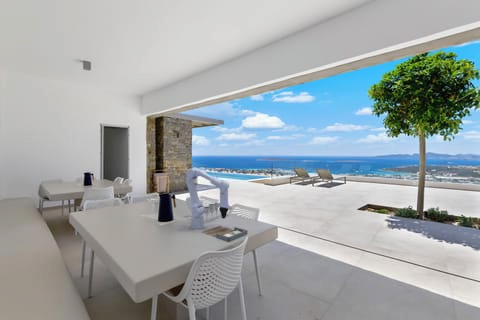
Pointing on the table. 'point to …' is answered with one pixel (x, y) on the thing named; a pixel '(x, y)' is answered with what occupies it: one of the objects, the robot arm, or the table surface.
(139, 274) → the table surface
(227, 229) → the walnut board
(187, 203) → the heart sculpture
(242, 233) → the tray
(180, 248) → the table surface
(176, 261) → the table surface
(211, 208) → the goblet set
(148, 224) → the table surface
